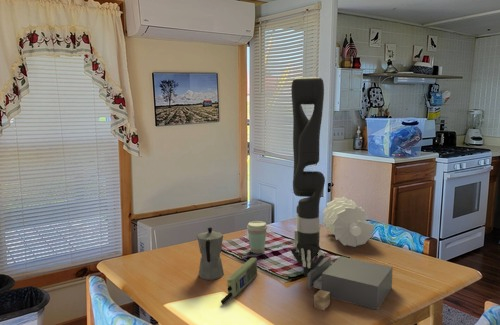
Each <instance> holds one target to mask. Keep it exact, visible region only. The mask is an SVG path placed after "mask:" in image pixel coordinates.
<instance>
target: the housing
mask: <svg viewBox="0 0 500 325" xmlns="http://www.w3.org/2000/svg"><path fill="white" fill-rule="evenodd" d="M392 289H393V266H390V265H385V264H380V263H377V262H376V263H375V262H370V261H365V260H360V259H357V258H350V257H347V256H340V257H339V258H337V259H336V260H335V261H334V262H333V263H331V266H329V267H328V268H327V269H326V270H325V271H324V272H323V273H322V289H321V290H323V291H327V292H330V298H331V299H334V300H339V301H342V302H347V303H351V304H353V305H357V306H361V307H365V308H368V309H372V310H377V311H378V309H379V308H380V306H381V305H382V303H383V302H384V300H385V299H386V298H387V296H388V295H389V293H390V292H391V290H392Z"/></svg>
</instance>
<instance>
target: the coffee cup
mask: <svg viewBox="0 0 500 325" xmlns="http://www.w3.org/2000/svg"><path fill="white" fill-rule="evenodd" d="M246 229H247V234H248V242H249V250H250V253H252V252H253V254H263V253H264V252H265V250H266V249H265V248H266V238H267V230H268V226H267V223H266V222H265V221H262V220H261V221H260V220H253V221H249V222H248V224H247V225H246Z"/></svg>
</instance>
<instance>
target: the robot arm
mask: <svg viewBox="0 0 500 325" xmlns="http://www.w3.org/2000/svg"><path fill="white" fill-rule="evenodd" d="M290 93H291V104H292V107H291V108H292V115H293V116H292V118H293V119H292V120H293V121H292V122H293V124H292V125H293V126H292V127H293V128H292V149H293V150H292V151H293V175H292V176H293V177H292V190H293V193H294V196H296V197H303V198H300V199H299V201H298V204H297V205H296V210H295V211H296V224H295V225H296V229H295V230H294V234H293V235H294V238H293V239H294V245H293V246H294V247H292V248H291V249H290V252H291V254H292V255H293V257H294V259H295V260H296V261H297V263H298V265H302V268H303V275H304V277H305V278H307V273H309V272H310V271H311V270H312V269H314V268H315V267H316V266H317V265H318V264H320V263H321V262H322V261H323V260H325V259H326V258H327V253H325V252H322V251H321V247H320V233H321V232H320V229H321V227H320V225H321V224H320V201H321V197H322V193H323V190H324V188H325V183H326V179H325V178H326V177H325V176H324V173H323V172H321V171H318V170H317V171H314V170H313V171H310V170H309V171H308V170H307V171H306V170H305V169H306V168H307V167H308V166H312V165H317V164H318V163H320V140H321V138H320V136H321V135H320V134H321V127H322V119H323V110H324V109H323V108H324V99H325V83H324V80H323V79H322V77H318V76H317V77H312V76H310V77H295V78H294V79H292V82H291V92H290ZM302 105H313V111H312V114H311V116H310V118H308V117H307V115H306V113H305V112H304V109H303V106H302ZM317 254H318V255H317ZM316 256H317V259H316V260H315V258H316ZM314 260H315V261H314Z"/></svg>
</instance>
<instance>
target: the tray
mask: <svg viewBox="0 0 500 325" xmlns="http://www.w3.org/2000/svg"><path fill="white" fill-rule="evenodd" d="M331 265H332V257H331V256H326V257H325V258H324V259H323V260H322V261H321V262H320V263H319V264H318V265H317V266H316V267H314V268H313V269H312V270H311V271H310V272H309V273H307V277H306V278H307V279H306V280H307V282H306V284H307V286H306V287H307V289H309V290H310V289H312V288H315V289H319V290H322V273H323V272H324V271H325V270H326V269H327V268H328V267H329V266H331Z"/></svg>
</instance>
